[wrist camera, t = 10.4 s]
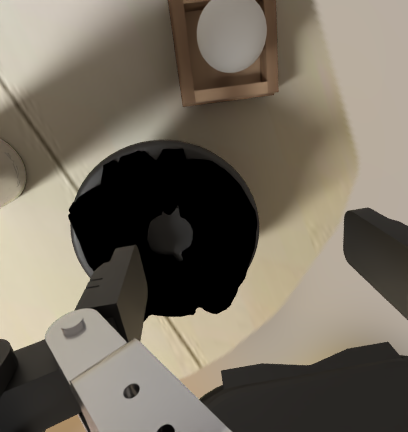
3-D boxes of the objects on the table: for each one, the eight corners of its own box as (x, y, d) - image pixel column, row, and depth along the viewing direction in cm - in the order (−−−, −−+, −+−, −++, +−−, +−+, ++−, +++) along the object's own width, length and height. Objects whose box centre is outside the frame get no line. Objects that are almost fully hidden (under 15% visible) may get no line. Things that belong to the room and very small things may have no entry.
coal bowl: (242, 264, 45) (279, 368, 28) (108, 273, 44) (59, 386, 27) (243, 127, 38) (294, 149, 20) (83, 134, 37) (-7, 164, 20)
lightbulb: (218, 1, 32) (230, -41, 22) (260, 41, 34) (290, 19, 23) (184, 52, 34) (181, 35, 24) (226, 88, 35) (241, 86, 25)
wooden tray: (182, 106, 37) (182, 107, 33) (168, 0, 33) (165, -13, 29) (271, 95, 37) (281, 94, 33) (267, -13, 33) (278, -27, 29)
